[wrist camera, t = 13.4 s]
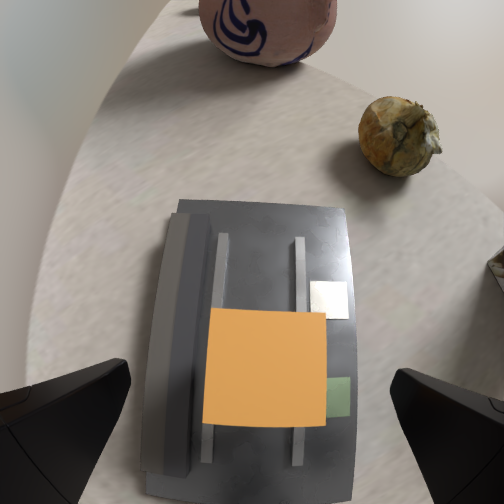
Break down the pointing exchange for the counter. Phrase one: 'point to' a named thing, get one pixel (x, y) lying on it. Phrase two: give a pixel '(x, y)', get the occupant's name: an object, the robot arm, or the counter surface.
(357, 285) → the counter surface
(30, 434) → the robot arm
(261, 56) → the ceramic pitcher
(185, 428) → the long gray beam
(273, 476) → the panel
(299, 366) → the lever
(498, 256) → the coffee box
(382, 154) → the onion
